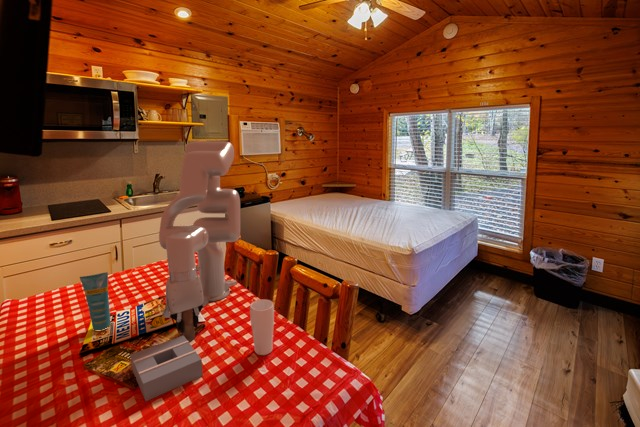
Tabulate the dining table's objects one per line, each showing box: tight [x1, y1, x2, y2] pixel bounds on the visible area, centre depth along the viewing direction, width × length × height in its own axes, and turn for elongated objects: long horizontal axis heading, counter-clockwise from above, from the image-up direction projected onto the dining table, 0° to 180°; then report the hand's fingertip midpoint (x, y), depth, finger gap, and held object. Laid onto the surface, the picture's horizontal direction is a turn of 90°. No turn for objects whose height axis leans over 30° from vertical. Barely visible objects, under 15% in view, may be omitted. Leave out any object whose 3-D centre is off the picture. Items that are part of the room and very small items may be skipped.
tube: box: [79, 271, 111, 331], centre depth 109 cm, size 7×5×19 cm, turn 123°
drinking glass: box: [249, 298, 275, 356], centre depth 99 cm, size 7×7×15 cm
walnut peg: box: [181, 309, 196, 343], centre depth 105 cm, size 4×4×12 cm
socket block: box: [130, 334, 204, 402], centre depth 90 cm, size 14×14×5 cm
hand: (188, 328), depth 105 cm, fingers open, 3 cm apart
